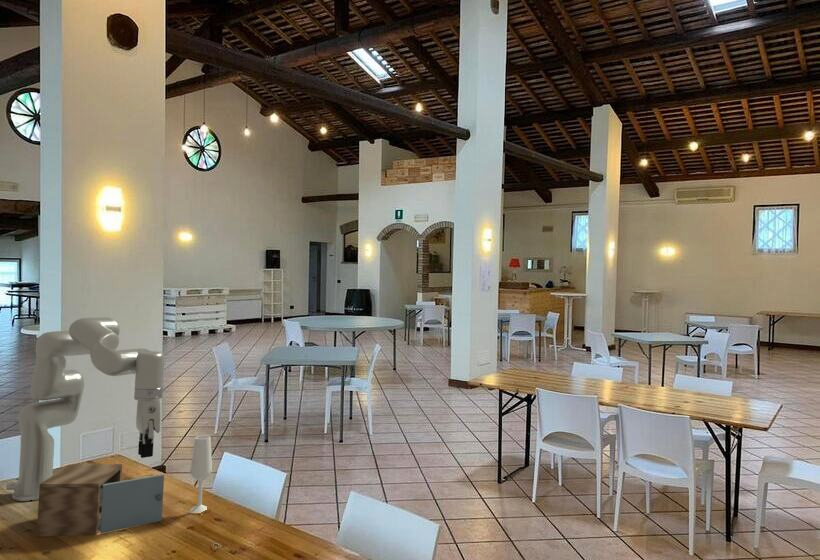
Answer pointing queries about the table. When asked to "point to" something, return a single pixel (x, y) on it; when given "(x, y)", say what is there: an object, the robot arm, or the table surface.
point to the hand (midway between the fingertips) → (145, 454)
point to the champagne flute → (201, 466)
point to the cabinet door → (131, 503)
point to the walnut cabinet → (74, 499)
